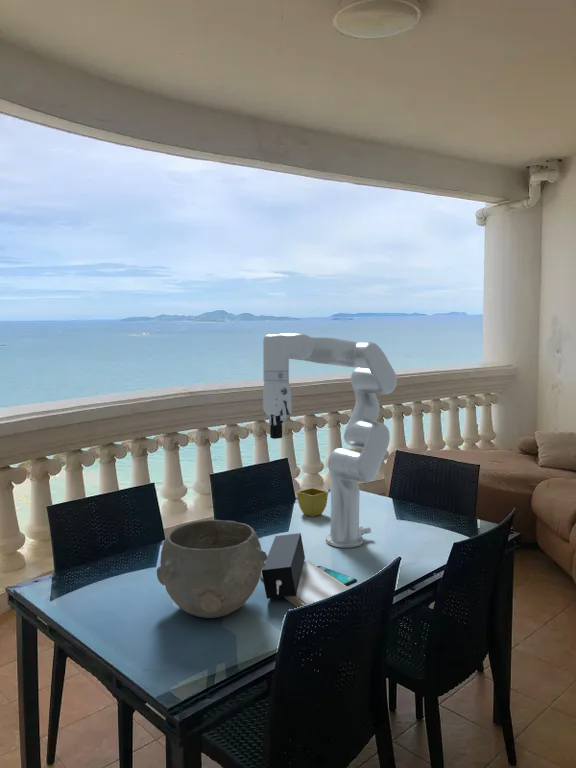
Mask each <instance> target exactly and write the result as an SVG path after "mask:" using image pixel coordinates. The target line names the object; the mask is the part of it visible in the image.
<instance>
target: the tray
mask: <svg viewBox="0 0 576 768" xmlns="http://www.w3.org/2000/svg"><path fill="white" fill-rule="evenodd" d="M260 579H261V580H263V576H262V570H261V574H260ZM348 588H350V587H349V586H346V585H344V584H342V583H341V582H339V581H338V580H336V579H335V578H333V577H332V576H330V575H329V574H327V573H326V572H324V571H323V570H321V569H320V568H318V567H317V566H316V565H315V564H314V563H312V562H311V561H309V560H304V564H303V568H302V572H301V576H300V580H299V584H298V589H297V594H296V596H287V597H283V598H284V599H285V600H287V601H288V602H289V603H291V604H292V605H293V606H295V608H297V607H300V606H304V605H306V604H310V603H313V602H316V601H319V600H322V599H325V598H327V597H329V596H332V595H334V594H337V593H339V592H342V591H344V590H346V589H348Z"/></svg>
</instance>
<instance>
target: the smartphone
mask: <svg viewBox="0 0 576 768" xmlns="http://www.w3.org/2000/svg"><path fill="white" fill-rule="evenodd" d="M317 567H318V568H320V569H321V570H323V571H324V572H326V573H327V574H329V575H330V576H332V577H333V578H335V579H336V580H338V581H339V582H341V583H342V584H344V585H346V586H347V587H349V586H350V585H353V584H355V583H357V582H358V579H357V578H354V577H352V576H348V575H346V574H343V573H340V572H338V571H335V570H333V569H330V568H327V567H324V566H322V565H318V566H317Z"/></svg>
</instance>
